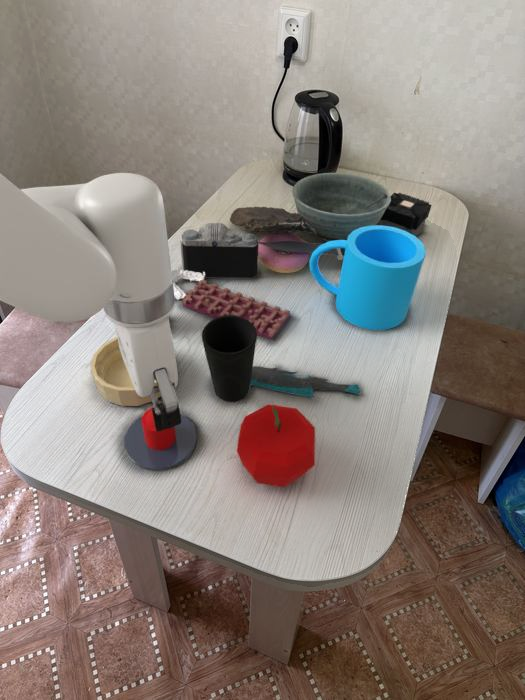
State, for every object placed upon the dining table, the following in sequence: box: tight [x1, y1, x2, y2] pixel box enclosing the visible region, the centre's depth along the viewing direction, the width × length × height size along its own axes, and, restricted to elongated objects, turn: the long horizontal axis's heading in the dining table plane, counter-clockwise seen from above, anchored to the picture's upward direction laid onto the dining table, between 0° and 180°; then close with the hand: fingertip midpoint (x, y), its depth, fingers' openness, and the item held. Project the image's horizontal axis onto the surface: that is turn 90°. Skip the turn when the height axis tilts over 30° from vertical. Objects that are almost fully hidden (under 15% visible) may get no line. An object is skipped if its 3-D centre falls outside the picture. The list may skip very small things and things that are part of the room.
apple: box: [236, 401, 316, 488], centre depth 66 cm, size 11×11×10 cm
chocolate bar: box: [182, 279, 291, 341], centre depth 92 cm, size 7×19×2 cm, turn 62°
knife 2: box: [250, 365, 362, 399], centre depth 80 cm, size 24×1×5 cm
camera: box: [179, 222, 259, 280], centre depth 98 cm, size 15×7×10 cm, turn 92°
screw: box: [364, 194, 388, 209], centre depth 103 cm, size 8×1×1 cm, turn 137°
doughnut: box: [258, 231, 311, 274], centre depth 103 cm, size 11×11×4 cm
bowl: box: [291, 172, 391, 242], centre depth 110 cm, size 21×21×10 cm
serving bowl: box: [90, 336, 161, 407], centre depth 78 cm, size 12×12×4 cm
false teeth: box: [171, 267, 205, 300], centre depth 96 cm, size 8×6×2 cm
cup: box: [201, 315, 258, 403], centre depth 74 cm, size 8×8×12 cm
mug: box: [308, 224, 426, 331], centre depth 91 cm, size 20×13×13 cm
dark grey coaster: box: [123, 413, 197, 471], centre depth 71 cm, size 10×10×1 cm
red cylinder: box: [141, 407, 176, 450], centre depth 69 cm, size 4×4×6 cm
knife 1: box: [258, 241, 345, 261], centre depth 101 cm, size 30×2×5 cm
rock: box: [229, 206, 316, 235], centre depth 104 cm, size 25×4×15 cm
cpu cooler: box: [378, 192, 432, 237], centre depth 115 cm, size 10×6×10 cm
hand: (156, 398), depth 65 cm, fingers open, 9 cm apart
